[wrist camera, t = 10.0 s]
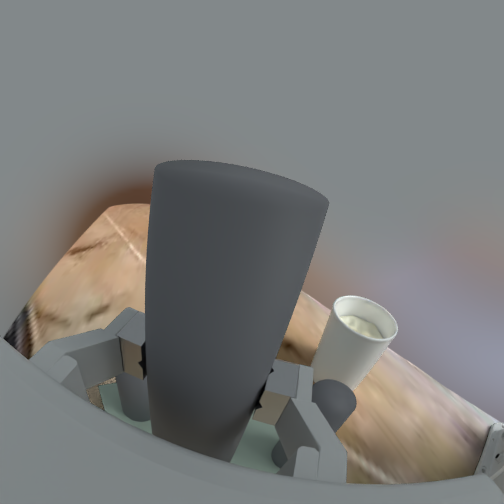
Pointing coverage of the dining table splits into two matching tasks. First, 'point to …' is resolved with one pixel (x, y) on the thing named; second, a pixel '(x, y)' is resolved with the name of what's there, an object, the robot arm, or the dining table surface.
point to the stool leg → (220, 294)
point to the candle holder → (353, 340)
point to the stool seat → (256, 433)
